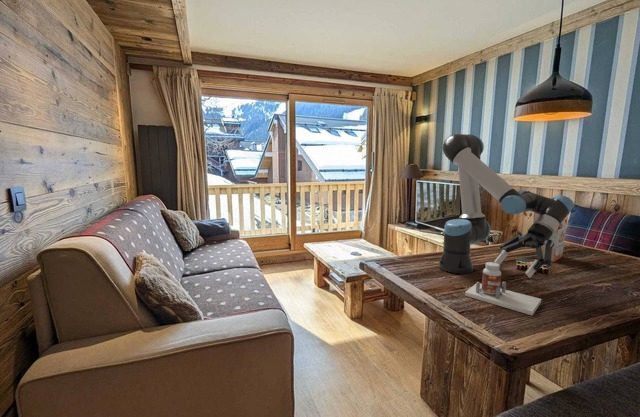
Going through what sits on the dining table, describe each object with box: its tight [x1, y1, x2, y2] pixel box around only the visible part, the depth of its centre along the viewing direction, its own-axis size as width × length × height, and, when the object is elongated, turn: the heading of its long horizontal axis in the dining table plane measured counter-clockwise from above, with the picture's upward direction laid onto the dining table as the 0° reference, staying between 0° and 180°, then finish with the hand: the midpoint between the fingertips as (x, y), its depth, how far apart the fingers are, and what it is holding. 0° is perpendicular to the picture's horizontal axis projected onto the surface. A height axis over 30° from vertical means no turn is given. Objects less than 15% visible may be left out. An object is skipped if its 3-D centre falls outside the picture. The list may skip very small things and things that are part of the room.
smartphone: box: [515, 257, 555, 269], centre depth 154 cm, size 8×1×15 cm
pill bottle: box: [481, 261, 502, 295], centre depth 117 cm, size 6×6×11 cm
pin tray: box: [464, 281, 542, 316], centre depth 115 cm, size 22×13×6 cm, turn 44°
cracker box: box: [542, 218, 568, 263], centre depth 159 cm, size 14×6×21 cm, turn 128°
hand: (511, 269), depth 120 cm, fingers open, 13 cm apart
